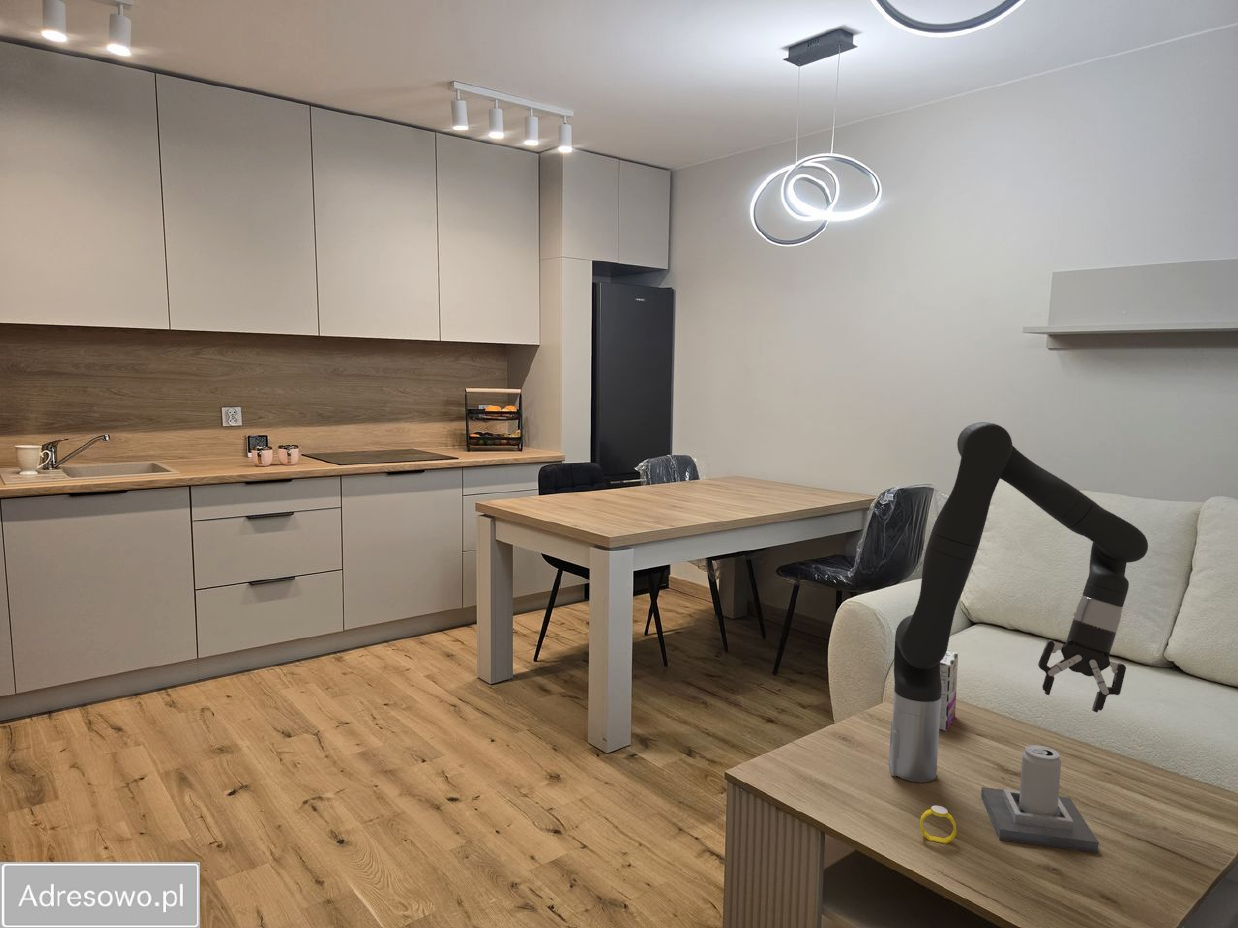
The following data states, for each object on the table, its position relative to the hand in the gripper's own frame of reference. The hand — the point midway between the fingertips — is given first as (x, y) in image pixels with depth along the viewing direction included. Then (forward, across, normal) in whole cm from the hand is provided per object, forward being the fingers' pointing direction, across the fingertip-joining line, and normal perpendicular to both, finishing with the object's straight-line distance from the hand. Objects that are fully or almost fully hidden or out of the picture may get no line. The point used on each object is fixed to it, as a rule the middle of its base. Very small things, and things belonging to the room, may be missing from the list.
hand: (1070, 702), depth 158 cm
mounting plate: (+22, -1, -8) cm, 24 cm away
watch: (+29, -16, -22) cm, 40 cm away
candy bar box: (+20, -20, +34) cm, 44 cm away
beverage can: (+21, -1, -8) cm, 22 cm away
